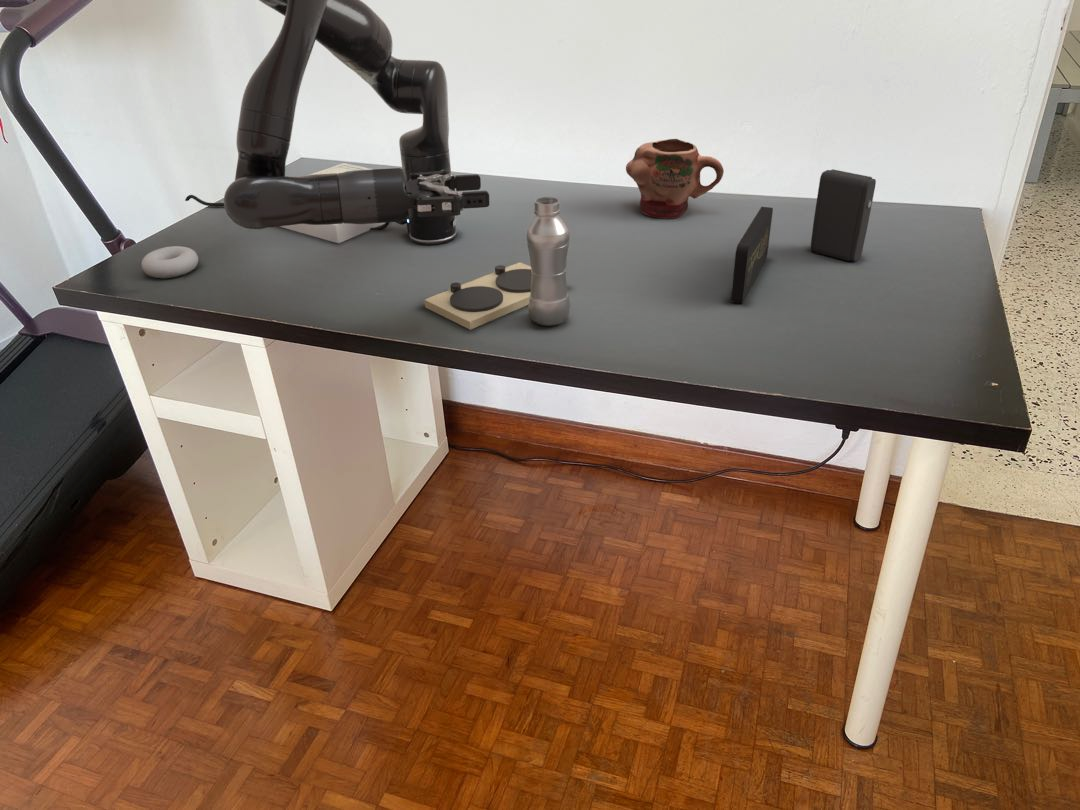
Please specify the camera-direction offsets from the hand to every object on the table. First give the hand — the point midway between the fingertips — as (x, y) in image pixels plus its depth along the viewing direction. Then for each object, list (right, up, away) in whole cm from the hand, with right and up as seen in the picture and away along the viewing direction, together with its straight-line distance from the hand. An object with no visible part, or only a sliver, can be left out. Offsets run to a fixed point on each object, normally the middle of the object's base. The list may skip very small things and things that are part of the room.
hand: (484, 190), depth 124 cm
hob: (+1, -13, +20) cm, 24 cm away
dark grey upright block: (+63, -4, +32) cm, 70 cm away
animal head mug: (+36, +9, +54) cm, 65 cm away
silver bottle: (+10, -18, +12) cm, 24 cm away
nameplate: (+45, -10, +23) cm, 51 cm away
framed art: (-35, +12, +62) cm, 72 cm away
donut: (-61, -6, +35) cm, 70 cm away
